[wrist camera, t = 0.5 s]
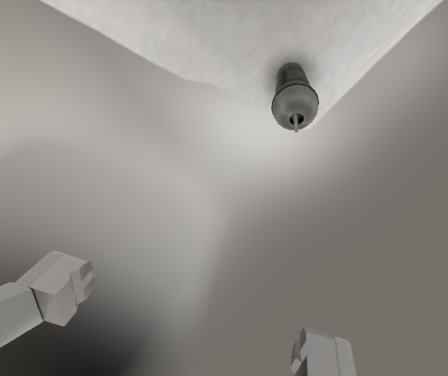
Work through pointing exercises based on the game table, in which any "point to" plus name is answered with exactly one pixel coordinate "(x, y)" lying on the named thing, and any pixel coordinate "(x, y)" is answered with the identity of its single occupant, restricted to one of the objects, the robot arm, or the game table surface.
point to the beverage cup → (294, 98)
